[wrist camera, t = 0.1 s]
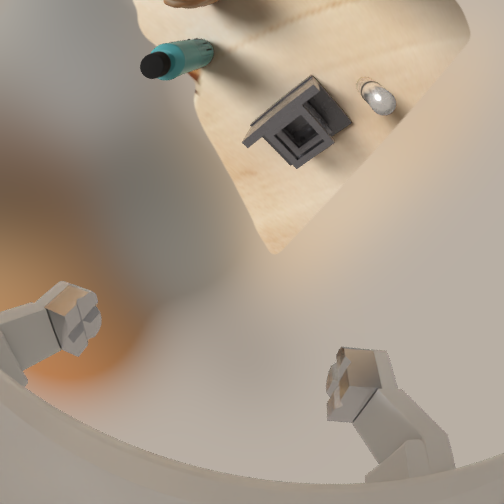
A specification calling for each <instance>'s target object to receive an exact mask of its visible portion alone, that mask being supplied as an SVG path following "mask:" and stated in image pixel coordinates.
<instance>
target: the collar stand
mask: <svg viewBox="0 0 504 504" xmlns="http://www.w3.org/2000/svg"><path fill="white" fill-rule="evenodd" d="M351 123H352V122H351V120H350V119H349V118H348V116H347V115H346V114H345V113H344V111H343V110H342V109H341V108H340V106H339V105H338V104H337V103H336V102H335V101H334V99H333V98H332V97H331V96H330V95H329V93H328V92H327V91H326V90H325V89H324V88H323V87H322V86H321V84H320V83H319V82H318V81H317V80H316V79H315V78H314V77H313V76H312V75H310V76H309V77H308V78H306V79H305V80H304V81H302V82H301V83H300V84H299V85H297V86H296V87H295V88H293V89H292V90H291V91H290V92H288V93H287V94H286V95H285V96H283V97H282V98H281V99H280V100H278V101H277V102H276V103H275V104H274V105H272V106H271V107H270V108H269V109H268V110H266V111H265V112H264V113H263V114H262V115H260V116H259V117H258V118H257V119H256V120H255V121H253V122H252V123H251V128H250V129H249V131H248V133H247V134H246V136H245V138H244V140H243V141H242V143H243V144H244V145H245V146H246V147H247V148H249V147H250V146H251V145H252V144H254V143H255V142H256V141H257V140H258V139H260V138H261V137H263V138H264V139H265V140H266V141H267V142H268V143H269V144H270V145H271V146H272V147H273V148H274V149H275V150H276V151H277V152H278V153H279V154H280V155H281V156H282V157H283V158H284V159H285V160H286V161H287V163H288V164H289V165H290V166H291V165H293V166H294V167H295V168H296V169H298V168H299V167H300V166H302V165H303V164H305V163H306V162H307V161H309V160H310V159H312V158H313V157H315V156H316V155H317V154H319V153H320V152H322V151H323V150H325V149H326V148H328V147H329V146H331V145H332V144H333V143H335V142H334V139H333V138H332V136H333V135H335V134H336V133H338V132H339V131H341V130H342V129H344V128H345V127H347V126H348V125H350V124H351Z"/></svg>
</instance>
